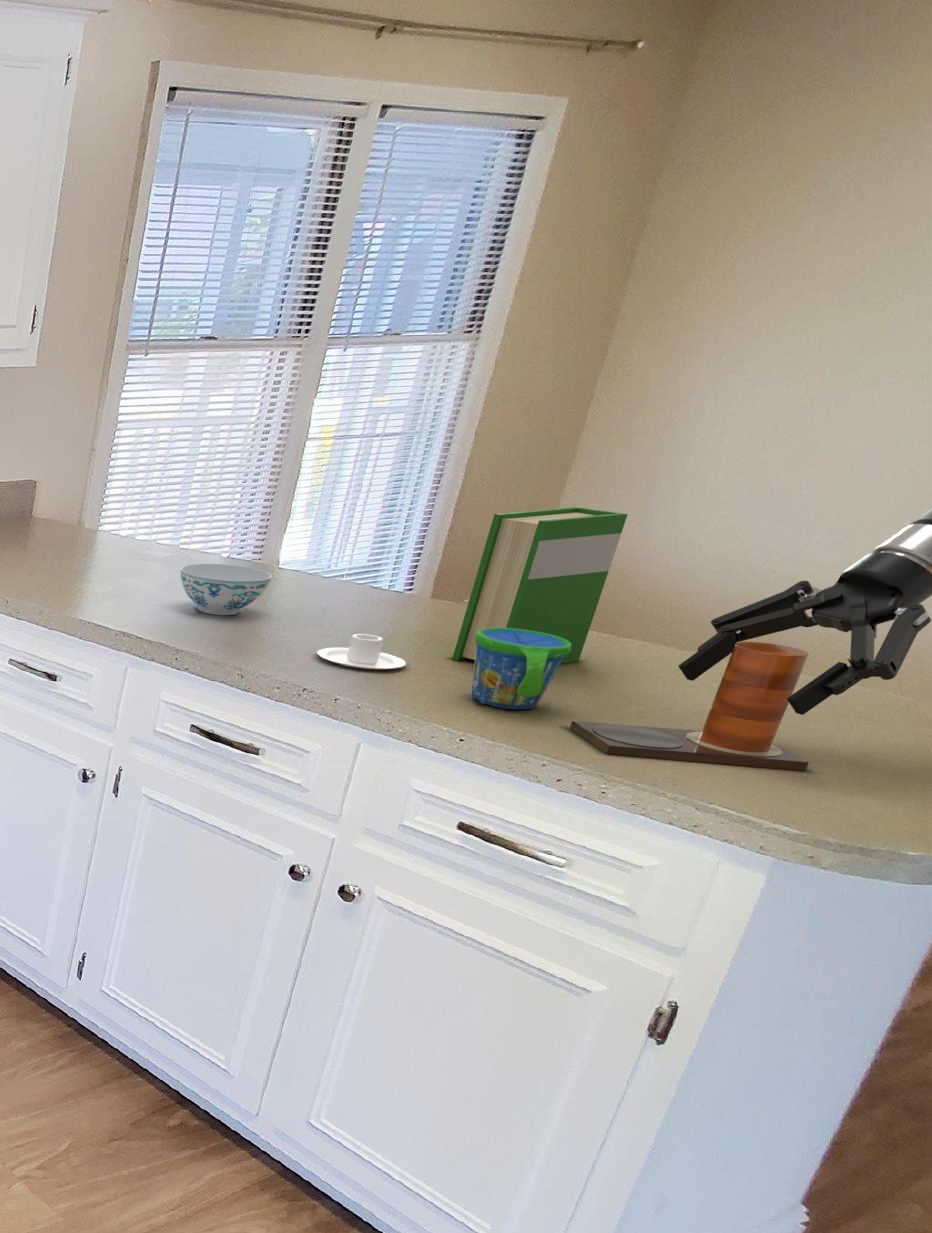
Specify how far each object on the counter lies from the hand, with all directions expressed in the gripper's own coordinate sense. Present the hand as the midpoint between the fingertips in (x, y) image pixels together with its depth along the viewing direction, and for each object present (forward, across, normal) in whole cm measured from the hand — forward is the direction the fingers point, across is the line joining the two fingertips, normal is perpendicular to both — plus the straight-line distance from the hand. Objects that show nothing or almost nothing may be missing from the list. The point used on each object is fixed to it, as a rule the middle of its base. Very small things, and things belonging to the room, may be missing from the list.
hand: (737, 689), depth 142 cm
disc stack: (+4, 0, -7) cm, 8 cm away
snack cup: (+14, +21, +1) cm, 25 cm away
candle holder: (+18, +42, +5) cm, 46 cm away
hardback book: (0, +41, -12) cm, 43 cm away
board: (+8, +2, -4) cm, 9 cm away
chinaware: (+20, +76, +8) cm, 79 cm away
